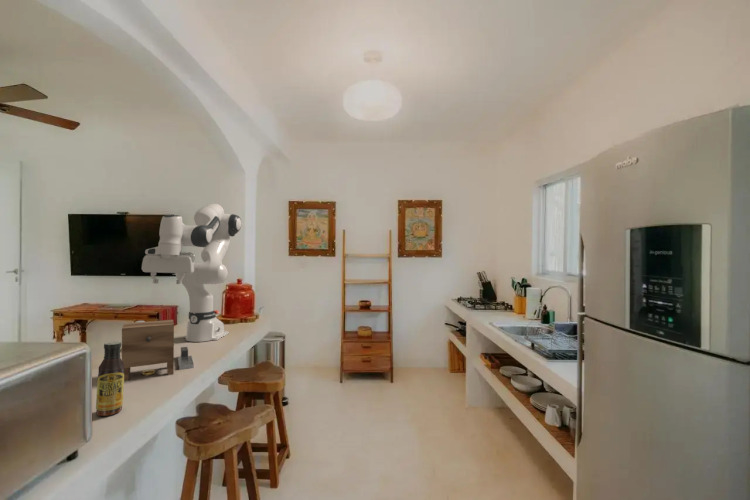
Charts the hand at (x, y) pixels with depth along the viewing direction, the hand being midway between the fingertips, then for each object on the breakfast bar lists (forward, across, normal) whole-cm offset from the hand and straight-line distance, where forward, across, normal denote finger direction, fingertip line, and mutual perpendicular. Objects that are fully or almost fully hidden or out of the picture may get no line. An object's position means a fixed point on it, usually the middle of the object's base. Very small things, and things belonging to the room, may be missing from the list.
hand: (167, 283), depth 160 cm
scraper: (+32, -12, +6) cm, 34 cm away
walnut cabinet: (+33, -4, +19) cm, 38 cm away
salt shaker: (+31, +16, -15) cm, 38 cm away
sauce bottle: (+36, -9, +52) cm, 64 cm away
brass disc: (+34, -4, +19) cm, 38 cm away
